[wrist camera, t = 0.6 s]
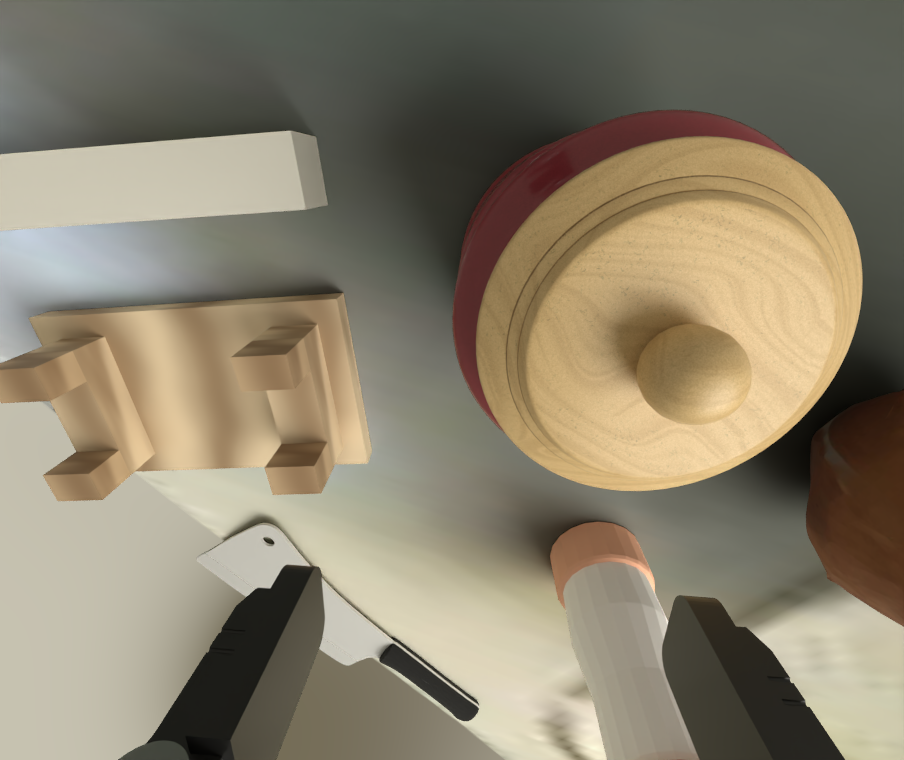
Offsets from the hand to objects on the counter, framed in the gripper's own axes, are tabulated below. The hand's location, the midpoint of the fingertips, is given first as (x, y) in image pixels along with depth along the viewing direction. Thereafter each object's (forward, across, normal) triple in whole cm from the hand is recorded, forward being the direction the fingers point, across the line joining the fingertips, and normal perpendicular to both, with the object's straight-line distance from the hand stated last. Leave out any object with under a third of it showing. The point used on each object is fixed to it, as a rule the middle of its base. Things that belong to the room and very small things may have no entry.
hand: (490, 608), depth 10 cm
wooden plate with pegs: (+20, +18, +3) cm, 28 cm away
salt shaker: (+22, -10, +17) cm, 30 cm away
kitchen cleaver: (+24, +11, +29) cm, 39 cm away
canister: (+20, -5, -6) cm, 22 cm away
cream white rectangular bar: (+19, +20, -10) cm, 29 cm away
